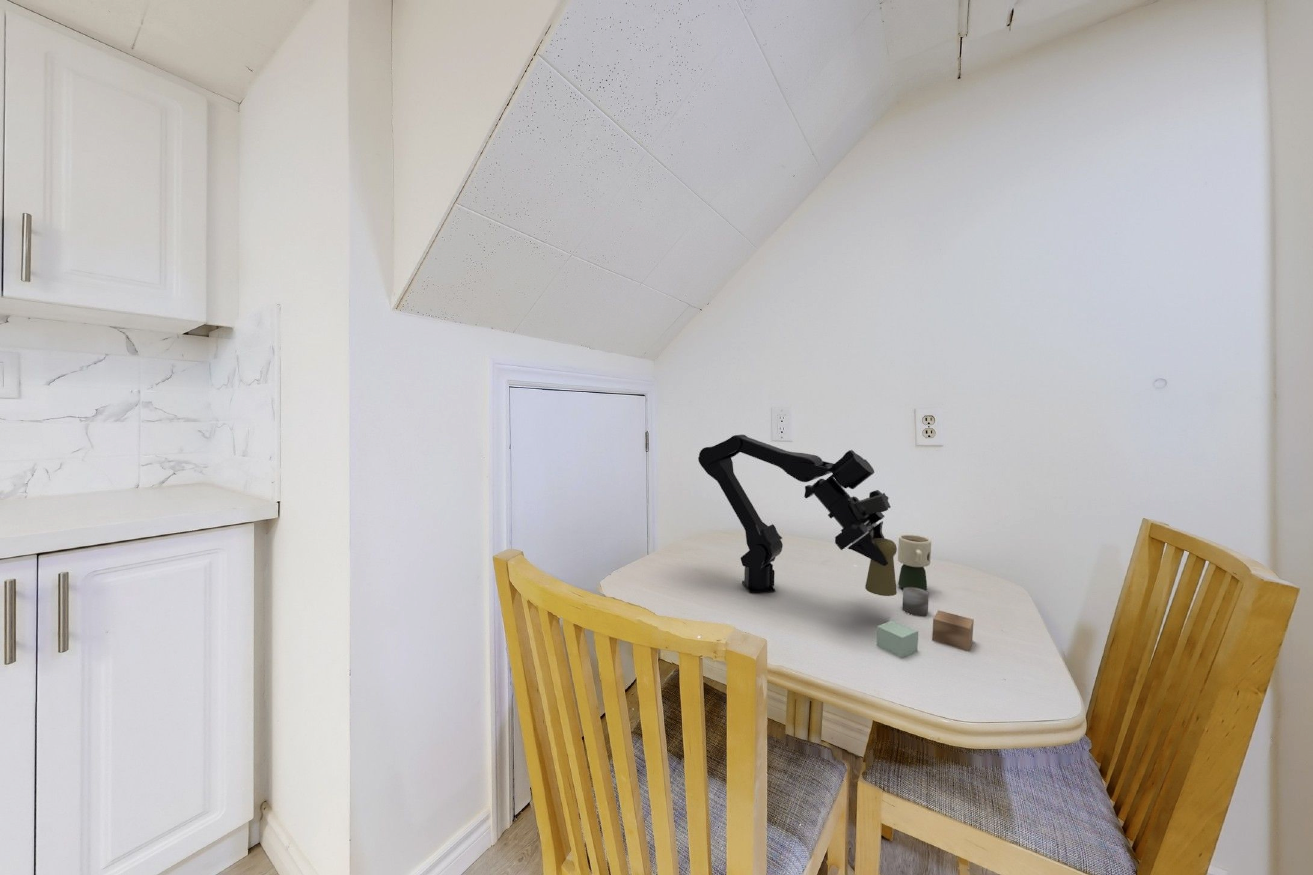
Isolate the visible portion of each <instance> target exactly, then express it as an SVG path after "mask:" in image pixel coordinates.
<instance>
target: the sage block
mask: <svg viewBox="0 0 1313 875" xmlns="http://www.w3.org/2000/svg"><path fill="white" fill-rule="evenodd" d="M918 643H919V630H917V629H915V628H913V627H910V626H908V625H905V624H903V623H902V622H901V623H900V622H899V621H896V620H894V619H892V620H889V621H888V622H885V623H882V624H880V625H877V626H876V646H877V647H878V648H880V649H881V650H885V651H886V652H888V653H890V654H892V655H894V656H897V658H901V659H903V658H905V657H908V656H909V655H911V654H914V653H916V652H918V645H919V644H918Z"/></svg>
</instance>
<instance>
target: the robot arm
mask: <svg viewBox="0 0 1313 875" xmlns="http://www.w3.org/2000/svg"><path fill="white" fill-rule="evenodd" d="M740 453H742V454H743V455H747V456H749V457H752V458H754V459H757V460H760V461H763V462H765V463H768V464H771V465H772V466H775V467H778V468H779V469H782V471H784V473H786V474H787V475H788V476H790V477H792V478H793V479H795V480H797V481H798V482H800V483H801V482H802V483H808V482H811V481H814V480H817V479H818V480H817V481H815V483H813V484H812V485H810V484H808V485H805V486H804V490H805V491H804V497H803V498H805V499H808V498H810V497H813V496H814V497H816V499H818V501H819V502H820V503H821V504H822V506H823V507H824V508H825V509H826V510H827V512H829V513H828V514H827V516H828V518H830V519H833V518H834V520H835V521H836V522H837V523H838V524H839V525H840V527H842V529H841V530H840V531H841V532H840V533H838V534H837V535H836V536H835V538H834V539H835V540H834V543H835V545H836V546H837V547H838V549H840V551H843V550H844V549H846V548H847V550H852V551H853V552H856V553H857V554H860V555H862V556H865V557H866V558H868V559H869V560H873V561H875V562H877V563H879V564H881V565H883V566H886V565H887V564H888V561H887V559H886V558H885V556H884V555H883V553H882V552H881V550H880V549H879V547H878V546H877V544H876V543H875V542H874V540H873V539H875V538H884V539H886V538H885V536H884V534H883V524H884V521H883V519H884V518H885V514H883V513H884V512H887V511H888V510H889V509H891V505H890V502H889V496H888V495H887V494H886V493H885V492H881V491H880V490H879V489H877V490H872V491H870V492H869V493H868V494H869V495H868V497H866V498H863V499H861V500H859V498H858V497H857V496H854V495H853V496H851V495H850V494H849V493H848V492H847V491H846V490H845V489H848V488H849V489H851V490H854V489H856V488H857V487H858V486H859V485H861V484H862V483H863V482H865V481H866V480H867V479H869V478H870V477H871V476H872V475H874V474H875V470H874V468H873V466H872V465H871V464H870V462H868V461H867V459H866V458H865V459H864V458H863V457H862V456H861V455H859V454H857V453H856V452H855V451H854V450H853V449H850V450H848V451H846V452H845V453H844V454H843V456H842V457H840V459H839V460H837V461H836V462H828V461H824V460H823V459H822V458H821V456H818V455H815V454H810V453H806V452H805V453H804V452H797V451H796V452H795V451H789V450H785V449H783V448H780V447H777V446H774V445H771V444H768V443H765V442H763V441H759V440H757V439H754V438H752V437H749V436H747V435H746V434H735V435H732V436H731V437H729V438H728V439H726V440H724V441H721V442H720V443H717V444H715V445H712V446H706V447H703V448H702V449H701V450H700V451H699V454H698V462H699V465H700V466H701V468H702V469H703V470H704V471H705V473H706V474H707V475H708V476H709V477H710V478H712V479H714V480H715V481H716V482H717V483H718V486H719V487H720V489H721V490H722V492H723V494H724V495H725V497H726V500H727V501H728V502H729V504H730V506H731V508H732V510H733V511H734V513H735V515H736V516H737V518H738V520H739V521H740V524H741V525H742V527H743V529H744V532H745V539H746V540H745V541H746V545H747V547H748V551H747V552H746V553H744V554H743V555H742V556H740V562H741V565H742V567H744V577H743V578H744V579H743V580H742V581H741V583H742V585H743V586H744V587H745V588H746V590H747V591H748V593H750V594H755V593H756V594H757V593H770V592H772V593H774V592H776V589H775V570H774V569H773V567H774V564H773V563H772V562H774V561H775V560H776V557H778V556H779V555H781V553H782V551H783V547H784V546H783V542H782V540H783V536H781V535H780V534H779V533H778V531H777V528H776V526H775V524H773V523H771V524H770V525H767V524H766V523H765V522H763V520H762V519H761V517H760V516H759V514H758V512H757V511H756V508H755V506H754V505H753V503H752V502H751V500H750V498H749V497H748V495H747V494H746V492H745V490H744V489H743V487H742V485H741V483H740V481H739V479H738V478H737V476H736V474H735V472H734V462H733V459H732V458H734V457H735V456H737V455H739V454H740ZM829 474H831V475H829ZM826 475H829V476H828V477H827V478H826V479H824V478H820V477H824V476H826ZM881 520H882V521H881ZM879 521H881V522H879ZM878 522H879V523H878ZM894 557H895V555H894V556H893V558H894Z"/></svg>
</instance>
